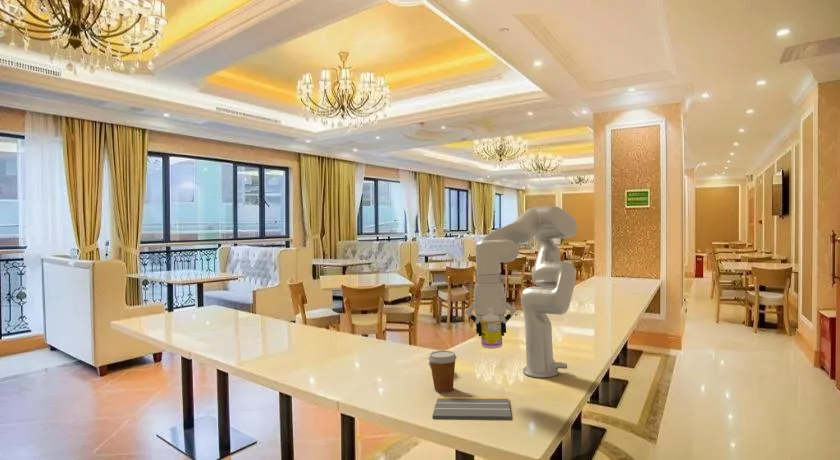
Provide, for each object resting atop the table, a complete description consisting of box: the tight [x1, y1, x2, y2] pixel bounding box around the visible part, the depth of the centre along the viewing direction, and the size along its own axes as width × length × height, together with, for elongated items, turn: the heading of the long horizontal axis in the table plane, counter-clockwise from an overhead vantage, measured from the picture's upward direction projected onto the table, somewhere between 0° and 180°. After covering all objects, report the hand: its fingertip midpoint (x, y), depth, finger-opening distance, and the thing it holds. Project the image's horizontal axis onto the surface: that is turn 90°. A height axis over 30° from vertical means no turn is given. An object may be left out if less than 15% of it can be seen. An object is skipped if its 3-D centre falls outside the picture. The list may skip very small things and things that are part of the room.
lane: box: [432, 396, 512, 420], centre depth 134 cm, size 22×15×1 cm
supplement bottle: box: [480, 308, 503, 350], centre depth 144 cm, size 7×7×13 cm
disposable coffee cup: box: [427, 350, 457, 393], centre depth 153 cm, size 10×10×12 cm
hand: (491, 334), depth 144 cm, fingers closed on supplement bottle, 6 cm apart
